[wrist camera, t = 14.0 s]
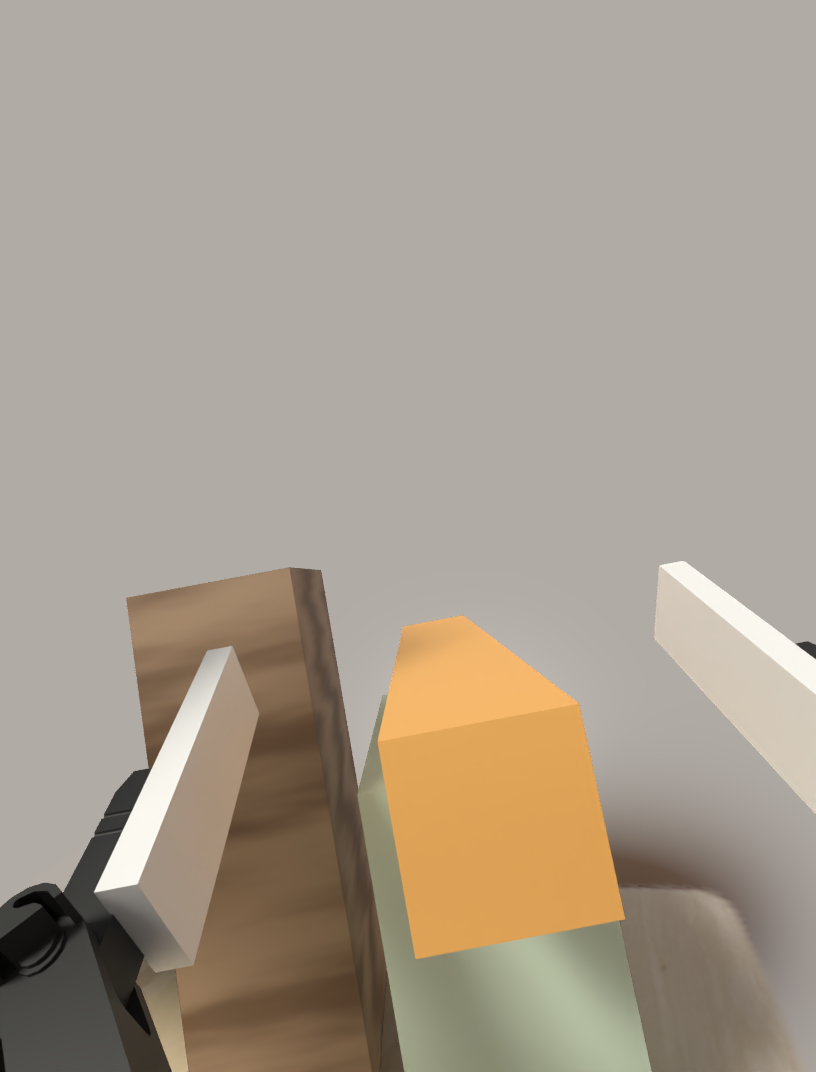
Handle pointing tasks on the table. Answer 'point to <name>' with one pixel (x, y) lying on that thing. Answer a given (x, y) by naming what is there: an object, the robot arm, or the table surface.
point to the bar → (490, 795)
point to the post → (274, 835)
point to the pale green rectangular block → (499, 982)
